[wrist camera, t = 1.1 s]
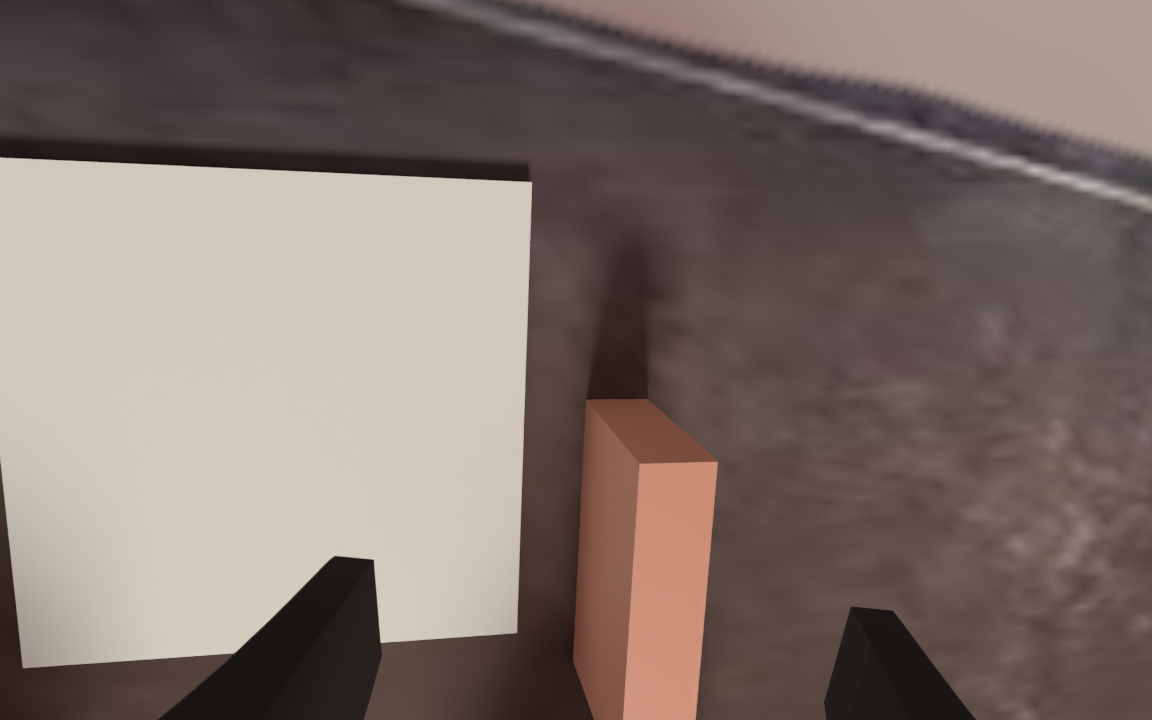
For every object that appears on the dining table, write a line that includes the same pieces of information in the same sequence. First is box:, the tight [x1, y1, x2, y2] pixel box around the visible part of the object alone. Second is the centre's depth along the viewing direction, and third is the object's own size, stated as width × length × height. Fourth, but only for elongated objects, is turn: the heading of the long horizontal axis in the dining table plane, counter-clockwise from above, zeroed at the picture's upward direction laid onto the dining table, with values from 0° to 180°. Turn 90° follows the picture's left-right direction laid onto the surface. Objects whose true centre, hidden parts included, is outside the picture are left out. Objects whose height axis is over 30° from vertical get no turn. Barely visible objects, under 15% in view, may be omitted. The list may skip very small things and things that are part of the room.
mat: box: [0, 158, 532, 668], centre depth 23 cm, size 14×14×1 cm
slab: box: [573, 399, 718, 720], centre depth 24 cm, size 9×2×6 cm, turn 177°
